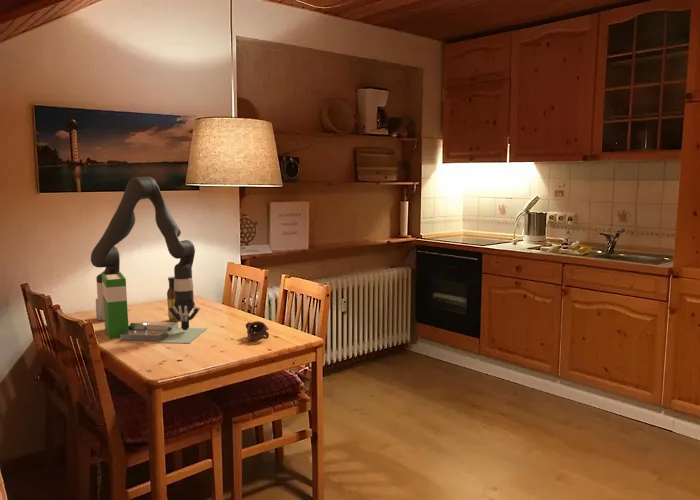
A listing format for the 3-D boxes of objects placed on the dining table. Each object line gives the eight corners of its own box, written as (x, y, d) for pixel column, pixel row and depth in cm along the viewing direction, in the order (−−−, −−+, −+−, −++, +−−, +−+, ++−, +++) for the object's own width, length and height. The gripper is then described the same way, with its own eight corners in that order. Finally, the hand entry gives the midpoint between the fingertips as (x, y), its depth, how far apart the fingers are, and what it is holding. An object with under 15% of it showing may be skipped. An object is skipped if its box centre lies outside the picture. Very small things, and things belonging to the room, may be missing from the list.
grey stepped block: (118, 340, 235) (117, 329, 234) (131, 332, 247) (131, 321, 246) (161, 341, 233) (161, 330, 233) (173, 333, 245) (172, 322, 245)
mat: (119, 341, 234) (119, 341, 234) (143, 327, 256) (143, 326, 256) (189, 343, 232) (189, 342, 232) (207, 328, 254) (207, 328, 254)
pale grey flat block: (129, 334, 242) (128, 324, 242) (142, 327, 254) (141, 317, 254) (167, 335, 241) (166, 325, 240) (178, 328, 253) (177, 317, 252)
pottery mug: (275, 338, 241) (272, 324, 236) (259, 353, 235) (255, 339, 230) (254, 327, 247) (251, 312, 242) (238, 341, 241) (234, 326, 236)
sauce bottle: (185, 318, 271) (183, 275, 269) (179, 322, 265) (178, 278, 262) (171, 318, 272) (169, 275, 269) (165, 321, 266) (164, 278, 263)
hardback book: (105, 328, 253) (101, 273, 250) (123, 326, 257) (120, 272, 253) (109, 339, 238) (105, 280, 234) (129, 336, 241) (125, 278, 238)
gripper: (164, 290, 242) (166, 331, 244) (196, 290, 241) (197, 332, 243) (171, 286, 249) (173, 327, 251) (202, 287, 248) (203, 327, 250)
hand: (185, 329), depth 247 cm, fingers closed
